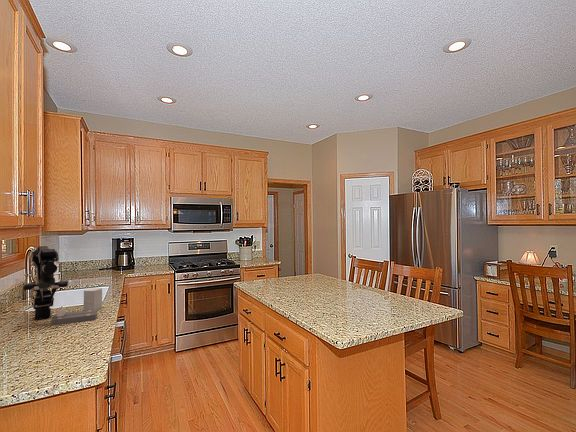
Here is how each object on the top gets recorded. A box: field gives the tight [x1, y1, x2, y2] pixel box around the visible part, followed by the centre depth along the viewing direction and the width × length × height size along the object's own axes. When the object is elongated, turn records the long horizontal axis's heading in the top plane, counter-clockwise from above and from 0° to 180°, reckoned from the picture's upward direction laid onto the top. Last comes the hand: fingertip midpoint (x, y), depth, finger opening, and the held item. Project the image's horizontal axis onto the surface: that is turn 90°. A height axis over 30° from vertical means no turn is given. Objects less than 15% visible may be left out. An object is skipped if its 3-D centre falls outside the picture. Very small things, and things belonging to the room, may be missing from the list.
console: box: [50, 310, 98, 326], centre depth 173 cm, size 20×12×3 cm, turn 118°
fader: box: [56, 306, 66, 317], centre depth 170 cm, size 3×5×4 cm, turn 28°
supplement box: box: [83, 287, 103, 311], centre depth 194 cm, size 7×7×13 cm
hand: (46, 301), depth 167 cm, fingers open, 4 cm apart
